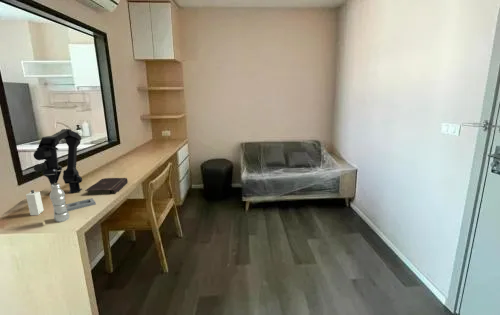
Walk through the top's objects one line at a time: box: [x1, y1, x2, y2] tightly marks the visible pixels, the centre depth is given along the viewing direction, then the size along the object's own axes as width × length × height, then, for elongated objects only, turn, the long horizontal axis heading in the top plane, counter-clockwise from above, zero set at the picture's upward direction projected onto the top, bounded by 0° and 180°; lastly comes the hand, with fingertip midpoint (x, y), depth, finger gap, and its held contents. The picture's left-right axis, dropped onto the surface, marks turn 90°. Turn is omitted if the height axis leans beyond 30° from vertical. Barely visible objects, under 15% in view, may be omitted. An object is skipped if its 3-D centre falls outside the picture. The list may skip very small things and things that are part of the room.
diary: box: [84, 177, 129, 196], centre depth 185 cm, size 19×25×5 cm
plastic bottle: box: [49, 182, 70, 223], centre depth 138 cm, size 6×7×20 cm
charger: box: [25, 189, 45, 216], centre depth 148 cm, size 4×4×14 cm
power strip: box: [65, 198, 97, 212], centre depth 156 cm, size 16×8×3 cm, turn 131°
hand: (54, 184), depth 161 cm, fingers open, 9 cm apart
